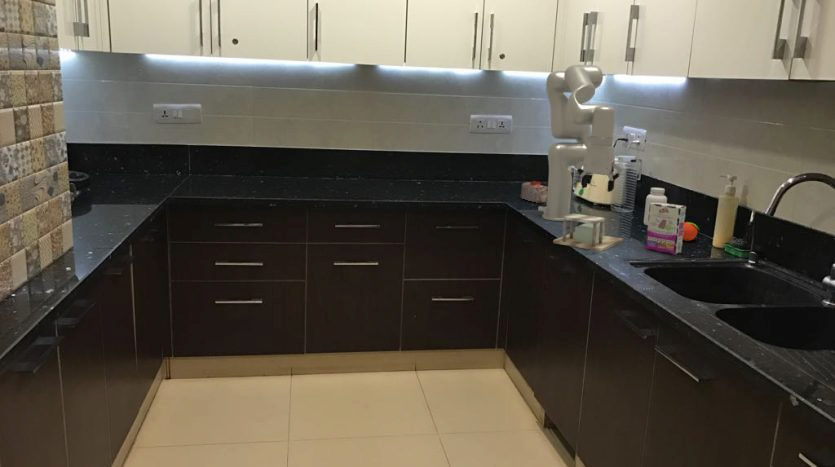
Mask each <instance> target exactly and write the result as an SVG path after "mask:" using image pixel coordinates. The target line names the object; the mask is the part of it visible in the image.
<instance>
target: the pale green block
mask: <svg viewBox="0 0 835 467" xmlns="http://www.w3.org/2000/svg"><path fill="white" fill-rule="evenodd" d="M574 227H575V228H574V232H575V239H574V241H577V242H583V243H592V236H593V224H591V223H583V224H580V225H578V226H574ZM599 232H600V223H598V224H597V231H596V240H598V239H599ZM604 233H605V223H604V226H603V237H604V236H605V234H604Z"/></svg>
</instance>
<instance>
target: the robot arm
mask: <svg viewBox="0 0 835 467" xmlns="http://www.w3.org/2000/svg"><path fill="white" fill-rule="evenodd" d="M603 80H604V76H603V70H602V69H601V67H599V66H598V65H592V64H591V65H588V64H585V65H584V64H573V65H570V66H568V67H567V68H566V69H565V70H557V71H552V72H551V73H549V74H548V75H547V78H546V82H545V87H546V88H545V89H546V94H547V100H548V103H549V105H550V106H549V107H550V131H551V136H552V138H554V139H556V140H575V141H576V142H568V141H567V142H564V141H563V142H560V141H559V142H555V143H552V144H550V145H549V148H548V151H547V159H548V181H547V183H548V184H547V187H548V195H547V201H546V206H538V212H543V214H542V219H544V220H548V221H553V222H555V221H556V222H564V219H563V216H566V215H569V214H571V212H570V211H571V197H572V186H573V177H572V173H571V171H570V170H569V169H568V167H575V168H576V169H577V173H579V175H580V177H581V181H580V182H581V183H580V185H581V188H582V189H586V188H587V187H588V182H589V177H588V175H589V174H593V175H602V176H607V177H608V179H609V180H608V182H607V190H606V191H607V192H608V193H610V192H612V191H613V190H614V188H615V181H616V180H617V179H618V178H619V177H620V176H621V174H622V173H623V171H624V168H622V167H621V166H619V164H617V163H615V161H616V160H615V148H614V146H613V142H614V140H613V139H614V130H615V121H616V108H615V107H613V106H609V105H607V104H605V103H603V104H600V103H596V104H595V103H588V102H590V100H592V98H594V96H595V94H596V89H597V88H599V87H600V86H601V84H602V83H603ZM564 93H566V94H567V93H569V94H570V95H569V97H567V95H565V94H564ZM582 167H583V168H582ZM615 170H616V173H615V174H614V171H615ZM567 222H571V220H567Z"/></svg>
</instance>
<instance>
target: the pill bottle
mask: <svg viewBox="0 0 835 467" xmlns="http://www.w3.org/2000/svg"><path fill="white" fill-rule="evenodd" d="M665 191H666V190H665V188H663V187H650V192H649V193H650V194H648V195H647V196H646V199H645V207H644V217H643V224H644V225H646V226H648V218H649V207H650V203H653V202H660V203H667V204H668V197H667V196H666V195H665Z"/></svg>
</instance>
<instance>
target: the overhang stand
mask: <svg viewBox="0 0 835 467" xmlns="http://www.w3.org/2000/svg"><path fill="white" fill-rule="evenodd" d="M563 219H564V221H563V226H562V236H561V237H559V238H555V239H553V241H552V243H553V244H555V245H556V244H558V245H564V246H567V247H574V248H581V249H585V250H586V249H587V250H592V251H596V252H603V250H604V251H606V250H607V249H609V248H612V247H614V246H616V245H617V244H620V243H622V242H624V238H621V237H614V236H609V235H604V237H603V226H604V227H605V225H604V224H605V220H606V218H605V217H602V216H595V215H594V216H593V215H586V214H581V213H570V214H569V215H566V216H563ZM567 220H570V224H569V226H570V227H569V233H568V234H567V229H568V228H567V227H568V221H567ZM575 222H580V223H583V224H585V223H591V224H593V236H592V243H583V242H577V241H574V239H575V228H574V227H575ZM598 223H600V232H599V239H598V240H596V231H597V224H598ZM605 249H606V250H605Z"/></svg>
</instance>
